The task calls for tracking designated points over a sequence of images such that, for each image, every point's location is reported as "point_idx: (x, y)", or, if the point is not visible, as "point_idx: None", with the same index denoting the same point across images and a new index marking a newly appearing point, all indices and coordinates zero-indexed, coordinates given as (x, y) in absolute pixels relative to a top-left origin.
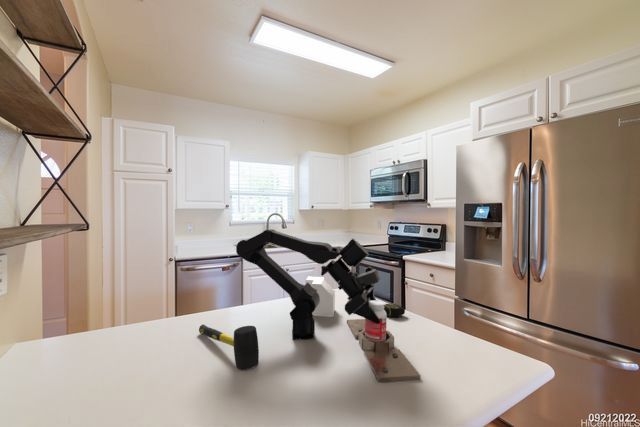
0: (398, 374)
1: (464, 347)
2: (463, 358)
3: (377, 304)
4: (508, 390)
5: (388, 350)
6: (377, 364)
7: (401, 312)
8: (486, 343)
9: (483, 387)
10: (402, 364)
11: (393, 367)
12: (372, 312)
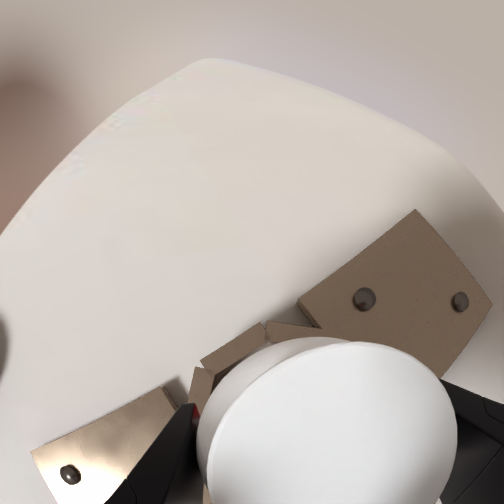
0: (452, 261)
1: (154, 135)
2: (224, 132)
3: (420, 413)
4: (318, 89)
5: (337, 337)
6: (450, 336)
7: None
8: (119, 109)
9: (339, 113)
10: (401, 262)
11: (433, 284)
12: (485, 403)
